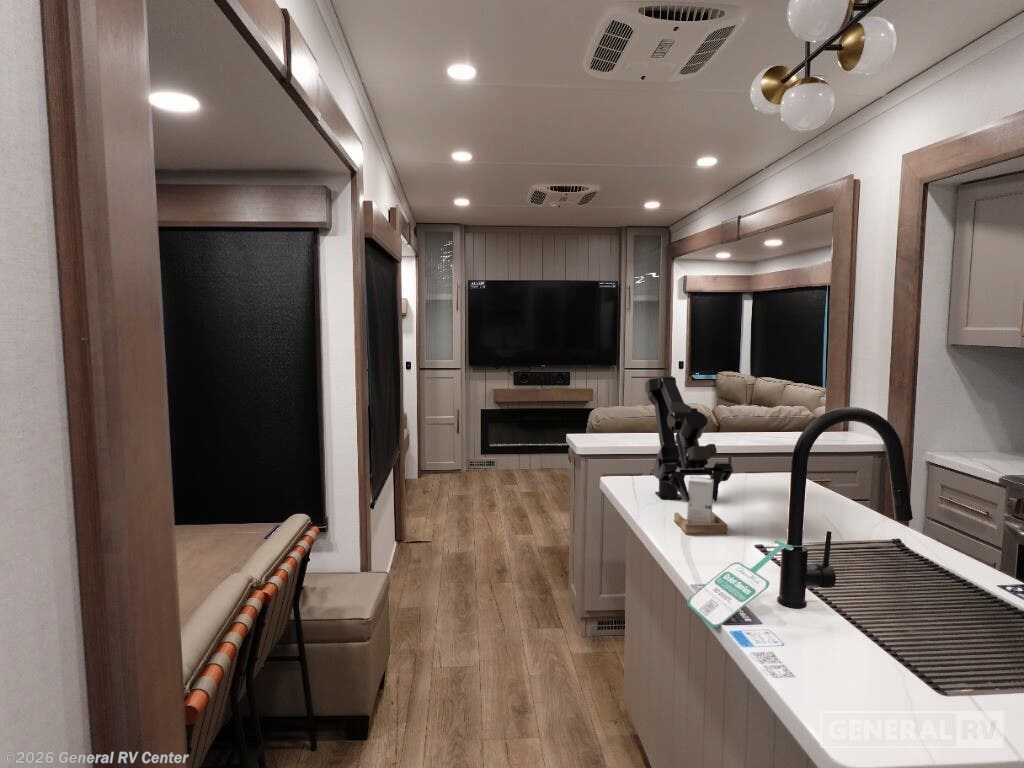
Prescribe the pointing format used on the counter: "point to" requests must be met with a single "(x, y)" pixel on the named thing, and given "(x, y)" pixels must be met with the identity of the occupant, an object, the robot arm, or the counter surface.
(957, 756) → the counter surface
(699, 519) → the skincare box
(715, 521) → the tray
